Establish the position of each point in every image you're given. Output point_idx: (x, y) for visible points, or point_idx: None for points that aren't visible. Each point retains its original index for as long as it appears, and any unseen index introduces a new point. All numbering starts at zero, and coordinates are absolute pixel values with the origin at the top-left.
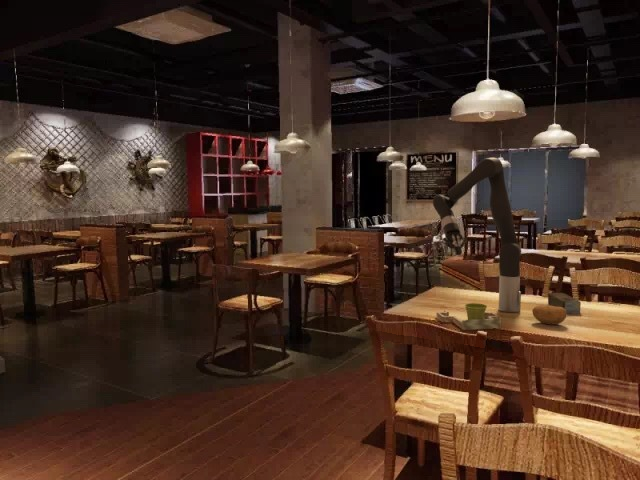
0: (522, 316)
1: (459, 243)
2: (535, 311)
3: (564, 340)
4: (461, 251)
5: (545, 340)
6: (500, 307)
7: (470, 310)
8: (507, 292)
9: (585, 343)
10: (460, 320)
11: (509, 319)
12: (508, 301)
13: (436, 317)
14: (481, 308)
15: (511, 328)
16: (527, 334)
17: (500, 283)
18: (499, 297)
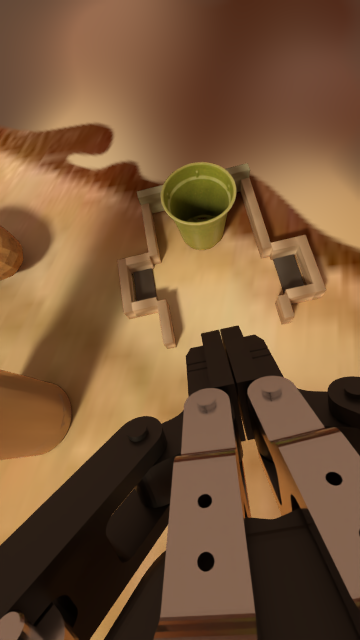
0: (31, 335)
1: (195, 443)
2: (12, 243)
3: (40, 147)
4: (192, 356)
5: (78, 141)
6: (65, 404)
7: (221, 179)
8: (10, 373)
9: (11, 138)
10: (251, 203)
11: (85, 297)
12: (30, 377)
13: (320, 296)
14: (187, 165)
15: (115, 212)
16: (97, 173)
17: (2, 402)
18: (45, 412)
